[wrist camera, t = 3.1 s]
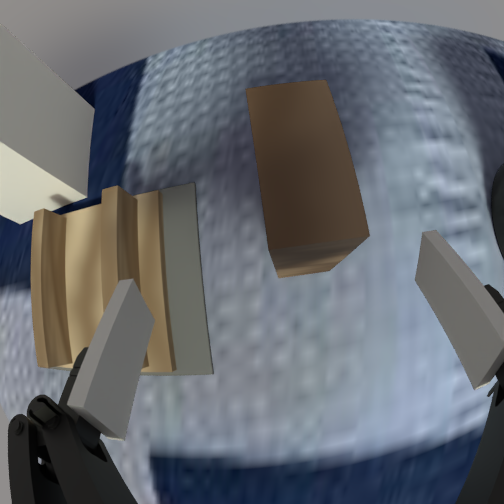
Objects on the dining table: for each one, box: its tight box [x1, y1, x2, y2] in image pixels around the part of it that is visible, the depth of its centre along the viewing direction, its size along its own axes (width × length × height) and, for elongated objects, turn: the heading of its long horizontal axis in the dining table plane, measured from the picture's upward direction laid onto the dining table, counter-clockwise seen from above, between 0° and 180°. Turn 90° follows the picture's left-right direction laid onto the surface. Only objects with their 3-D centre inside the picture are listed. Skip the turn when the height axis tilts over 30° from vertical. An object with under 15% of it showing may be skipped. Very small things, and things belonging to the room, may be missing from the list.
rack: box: [31, 186, 177, 372], centre depth 22 cm, size 14×15×4 cm
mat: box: [42, 183, 214, 376], centre depth 25 cm, size 20×16×1 cm
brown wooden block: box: [246, 80, 370, 278], centre depth 18 cm, size 4×8×12 cm, turn 7°
